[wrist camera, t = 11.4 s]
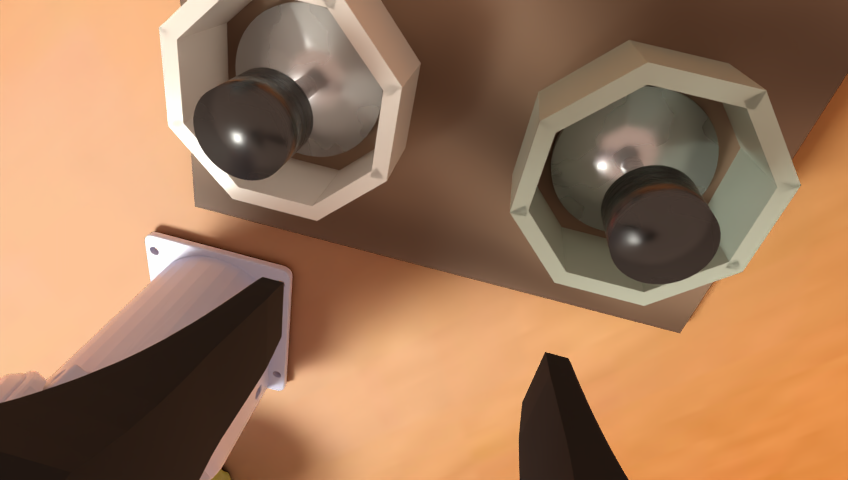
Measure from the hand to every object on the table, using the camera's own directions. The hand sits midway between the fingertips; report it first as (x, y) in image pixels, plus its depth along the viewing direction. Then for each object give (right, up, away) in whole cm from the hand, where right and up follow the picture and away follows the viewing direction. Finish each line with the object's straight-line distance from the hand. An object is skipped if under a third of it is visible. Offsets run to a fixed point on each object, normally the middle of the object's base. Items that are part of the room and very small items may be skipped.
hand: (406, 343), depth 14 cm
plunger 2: (+8, +6, +6) cm, 12 cm away
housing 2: (+9, +6, +7) cm, 13 cm away
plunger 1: (-4, +9, +7) cm, 12 cm away
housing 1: (-4, +9, +7) cm, 13 cm away
